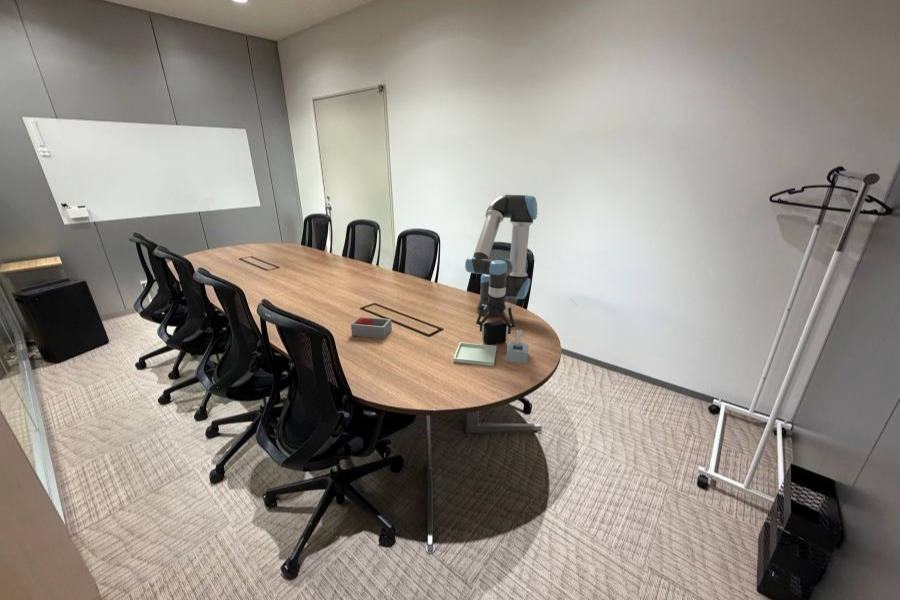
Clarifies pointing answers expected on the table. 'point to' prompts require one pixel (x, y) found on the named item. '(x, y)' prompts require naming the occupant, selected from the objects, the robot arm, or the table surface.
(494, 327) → the electronic device
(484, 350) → the tray
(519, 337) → the cylinder
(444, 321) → the table surface
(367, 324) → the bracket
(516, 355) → the square hole cube
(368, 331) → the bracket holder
